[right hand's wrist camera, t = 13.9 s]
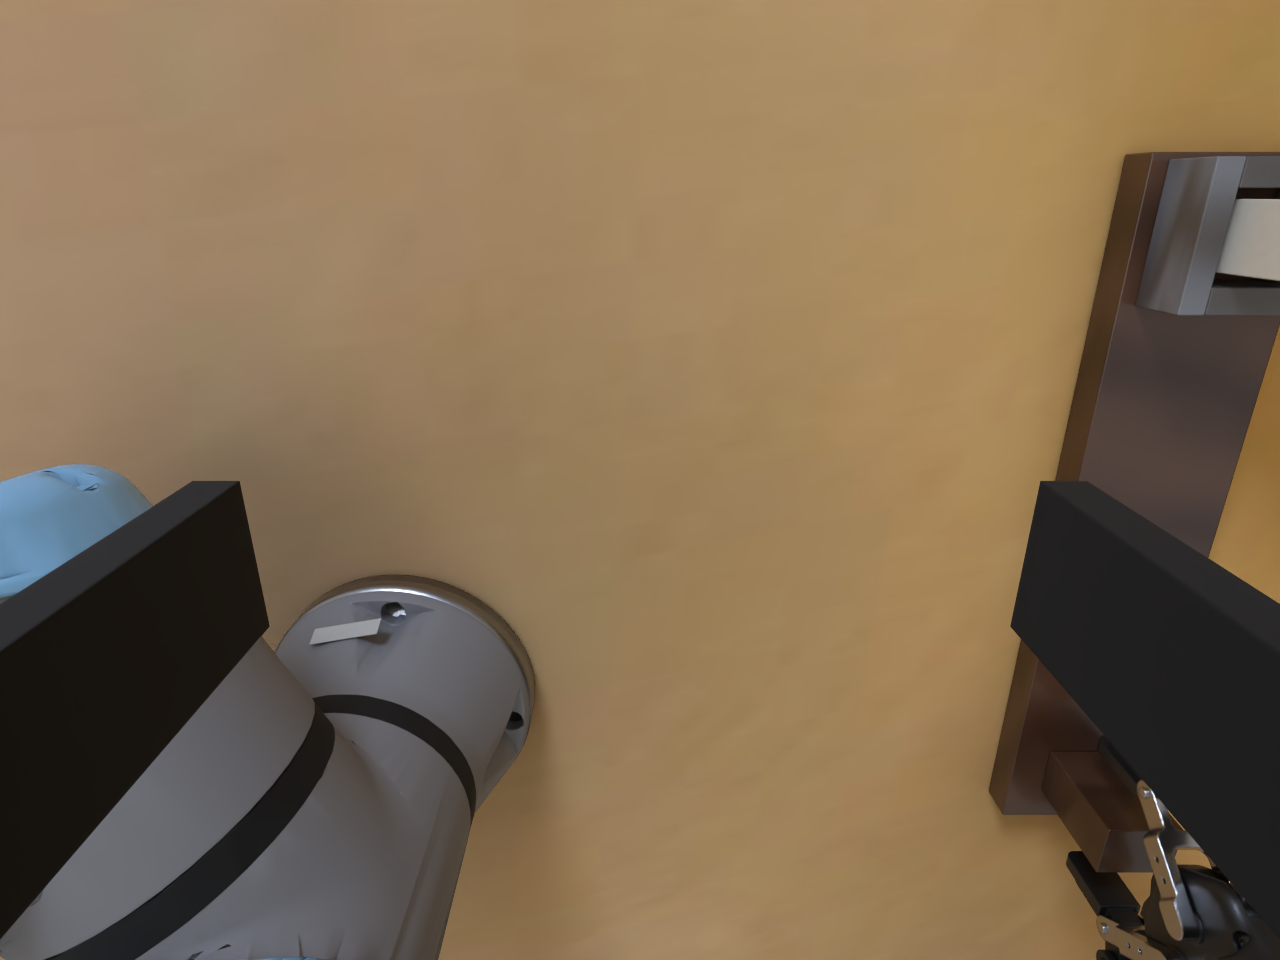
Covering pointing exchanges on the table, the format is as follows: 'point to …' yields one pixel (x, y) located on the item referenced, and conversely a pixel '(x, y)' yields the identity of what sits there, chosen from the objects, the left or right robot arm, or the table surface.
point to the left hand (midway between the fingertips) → (1097, 799)
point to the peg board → (1147, 446)
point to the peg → (1252, 240)
